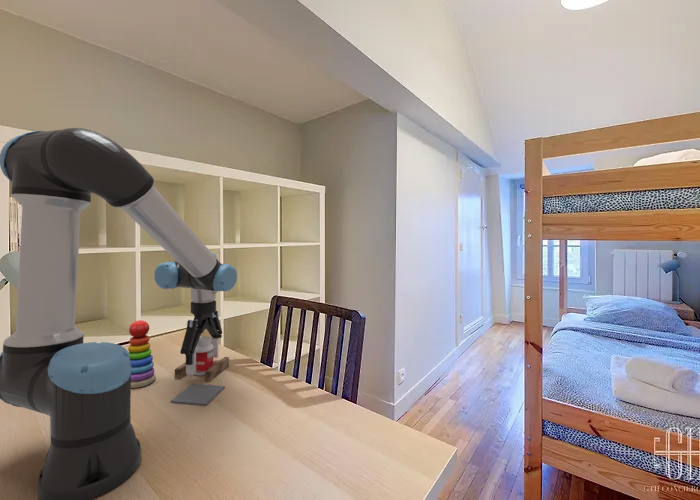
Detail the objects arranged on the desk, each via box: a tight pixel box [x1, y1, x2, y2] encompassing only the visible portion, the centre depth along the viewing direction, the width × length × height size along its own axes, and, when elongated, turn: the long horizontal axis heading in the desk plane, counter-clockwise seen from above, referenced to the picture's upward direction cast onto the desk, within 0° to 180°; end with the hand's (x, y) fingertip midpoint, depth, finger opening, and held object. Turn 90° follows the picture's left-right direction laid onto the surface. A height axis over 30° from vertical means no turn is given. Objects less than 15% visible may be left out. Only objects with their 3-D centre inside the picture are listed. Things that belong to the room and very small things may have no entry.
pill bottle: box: [194, 335, 214, 377], centre depth 104 cm, size 6×6×11 cm
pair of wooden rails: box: [174, 356, 230, 383], centre depth 104 cm, size 12×12×3 cm
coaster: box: [170, 383, 226, 407], centre depth 90 cm, size 10×10×1 cm
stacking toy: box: [127, 319, 157, 389], centre depth 96 cm, size 8×8×19 cm
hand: (203, 365), depth 104 cm, fingers open, 13 cm apart
